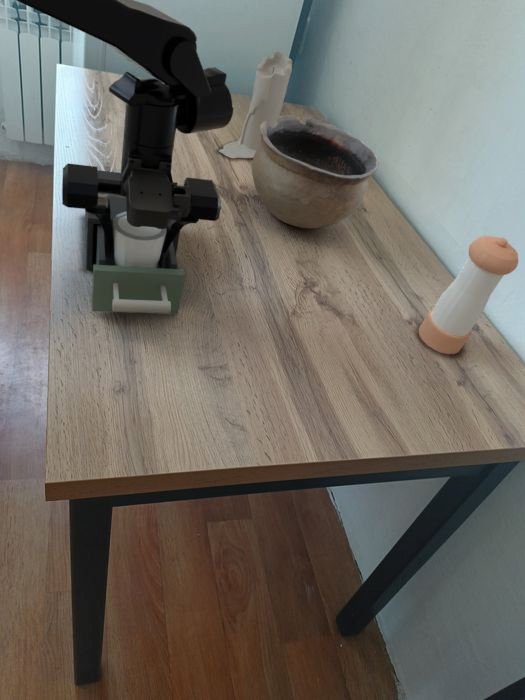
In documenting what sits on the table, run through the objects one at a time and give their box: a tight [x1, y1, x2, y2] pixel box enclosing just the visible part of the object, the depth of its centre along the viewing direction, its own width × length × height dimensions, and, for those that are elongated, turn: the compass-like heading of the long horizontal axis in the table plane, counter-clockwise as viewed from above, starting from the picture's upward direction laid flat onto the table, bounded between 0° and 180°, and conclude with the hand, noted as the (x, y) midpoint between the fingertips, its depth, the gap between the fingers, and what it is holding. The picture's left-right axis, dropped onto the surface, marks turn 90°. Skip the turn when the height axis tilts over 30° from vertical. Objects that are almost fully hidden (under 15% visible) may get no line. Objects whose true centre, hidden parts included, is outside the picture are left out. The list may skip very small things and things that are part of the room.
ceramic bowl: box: [251, 114, 380, 229], centre depth 100 cm, size 22×22×15 cm
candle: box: [218, 49, 293, 159], centre depth 114 cm, size 7×14×20 cm, turn 138°
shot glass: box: [113, 212, 167, 268], centre depth 72 cm, size 7×7×7 cm
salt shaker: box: [418, 235, 519, 355], centre depth 81 cm, size 7×7×19 cm
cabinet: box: [84, 169, 181, 271], centre depth 82 cm, size 14×13×9 cm
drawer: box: [91, 224, 186, 315], centre depth 73 cm, size 17×11×7 cm, turn 14°
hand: (137, 249), depth 72 cm, fingers closed on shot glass, 6 cm apart
